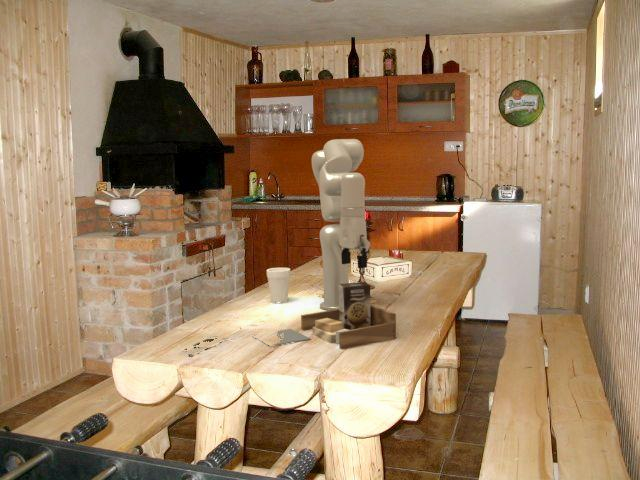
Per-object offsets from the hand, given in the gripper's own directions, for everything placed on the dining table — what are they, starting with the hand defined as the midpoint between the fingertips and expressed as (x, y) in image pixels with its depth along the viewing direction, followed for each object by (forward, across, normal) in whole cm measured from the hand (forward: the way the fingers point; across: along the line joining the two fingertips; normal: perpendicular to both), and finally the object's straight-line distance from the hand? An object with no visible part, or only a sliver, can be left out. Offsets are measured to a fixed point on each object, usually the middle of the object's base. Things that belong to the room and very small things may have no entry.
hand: (354, 265), depth 210 cm
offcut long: (+23, 0, -10) cm, 25 cm away
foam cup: (+22, -55, -1) cm, 60 cm away
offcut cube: (+22, +8, -9) cm, 26 cm away
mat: (+22, -8, -23) cm, 33 cm away
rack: (+22, 0, -3) cm, 22 cm away
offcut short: (+20, -1, -9) cm, 22 cm away
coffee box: (+22, 0, 0) cm, 22 cm away
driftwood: (+23, -14, -47) cm, 54 cm away
